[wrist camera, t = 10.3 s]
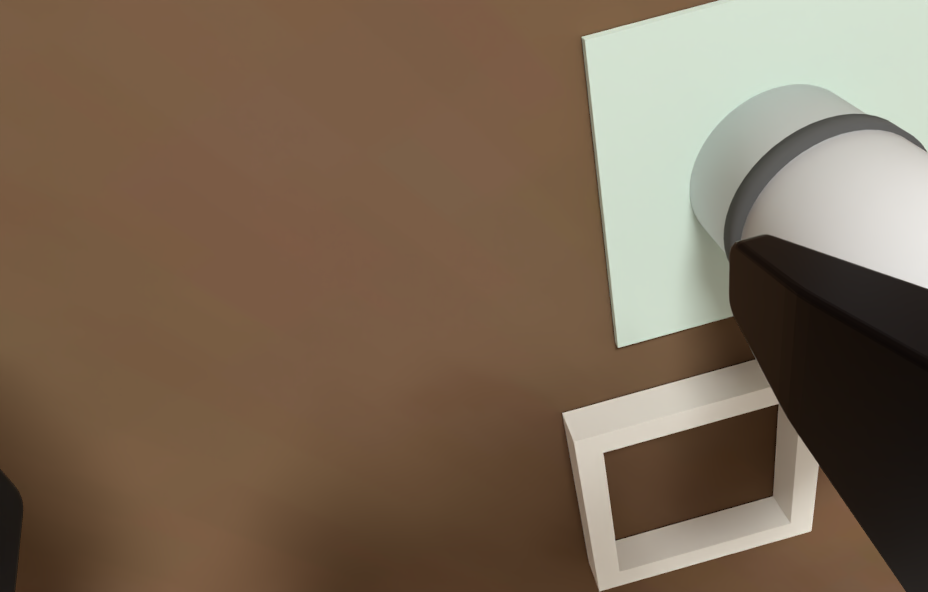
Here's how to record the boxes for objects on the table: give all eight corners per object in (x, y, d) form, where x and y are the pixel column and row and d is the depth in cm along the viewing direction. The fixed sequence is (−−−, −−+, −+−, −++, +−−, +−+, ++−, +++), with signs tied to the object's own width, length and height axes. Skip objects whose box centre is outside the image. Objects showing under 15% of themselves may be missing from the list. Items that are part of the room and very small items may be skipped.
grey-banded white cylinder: (726, 277, 26) (1017, 631, 15) (654, 158, 23) (957, 502, 12) (882, 179, 25) (1313, 490, 14) (828, 38, 22) (1330, 307, 11)
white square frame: (588, 562, 34) (599, 591, 33) (562, 412, 29) (573, 441, 27) (793, 504, 34) (811, 531, 33) (807, 345, 29) (829, 370, 28)
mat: (615, 342, 27) (618, 347, 27) (581, 37, 21) (584, 40, 20) (910, 261, 27) (916, 265, 27) (968, -66, 21) (976, -64, 21)
